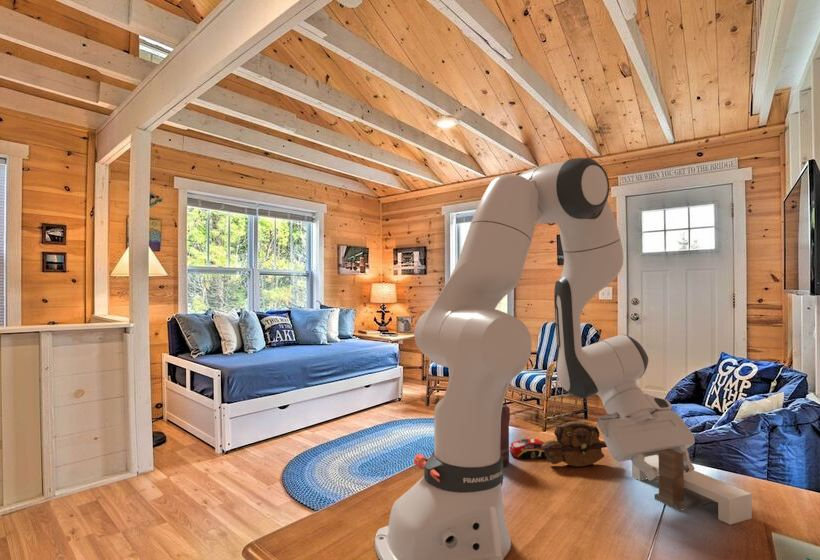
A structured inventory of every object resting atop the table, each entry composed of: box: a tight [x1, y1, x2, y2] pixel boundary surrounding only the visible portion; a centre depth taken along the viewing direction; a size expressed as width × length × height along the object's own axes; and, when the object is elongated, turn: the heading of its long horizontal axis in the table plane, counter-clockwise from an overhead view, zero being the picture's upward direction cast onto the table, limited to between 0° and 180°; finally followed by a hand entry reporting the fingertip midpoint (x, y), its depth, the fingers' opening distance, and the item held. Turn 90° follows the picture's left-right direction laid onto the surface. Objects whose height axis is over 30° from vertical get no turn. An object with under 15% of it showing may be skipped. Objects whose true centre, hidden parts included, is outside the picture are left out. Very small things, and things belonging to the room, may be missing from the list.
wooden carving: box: [542, 420, 607, 467], centre depth 104 cm, size 16×5×10 cm, turn 101°
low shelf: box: [631, 455, 753, 525], centre depth 89 cm, size 6×21×4 cm, turn 21°
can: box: [500, 403, 511, 468], centre depth 106 cm, size 6×6×14 cm
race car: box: [509, 438, 547, 460], centre depth 111 cm, size 13×5×4 cm, turn 90°
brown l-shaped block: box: [653, 449, 716, 512], centre depth 87 cm, size 12×5×10 cm, turn 111°
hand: (672, 475), depth 85 cm, fingers open, 8 cm apart
